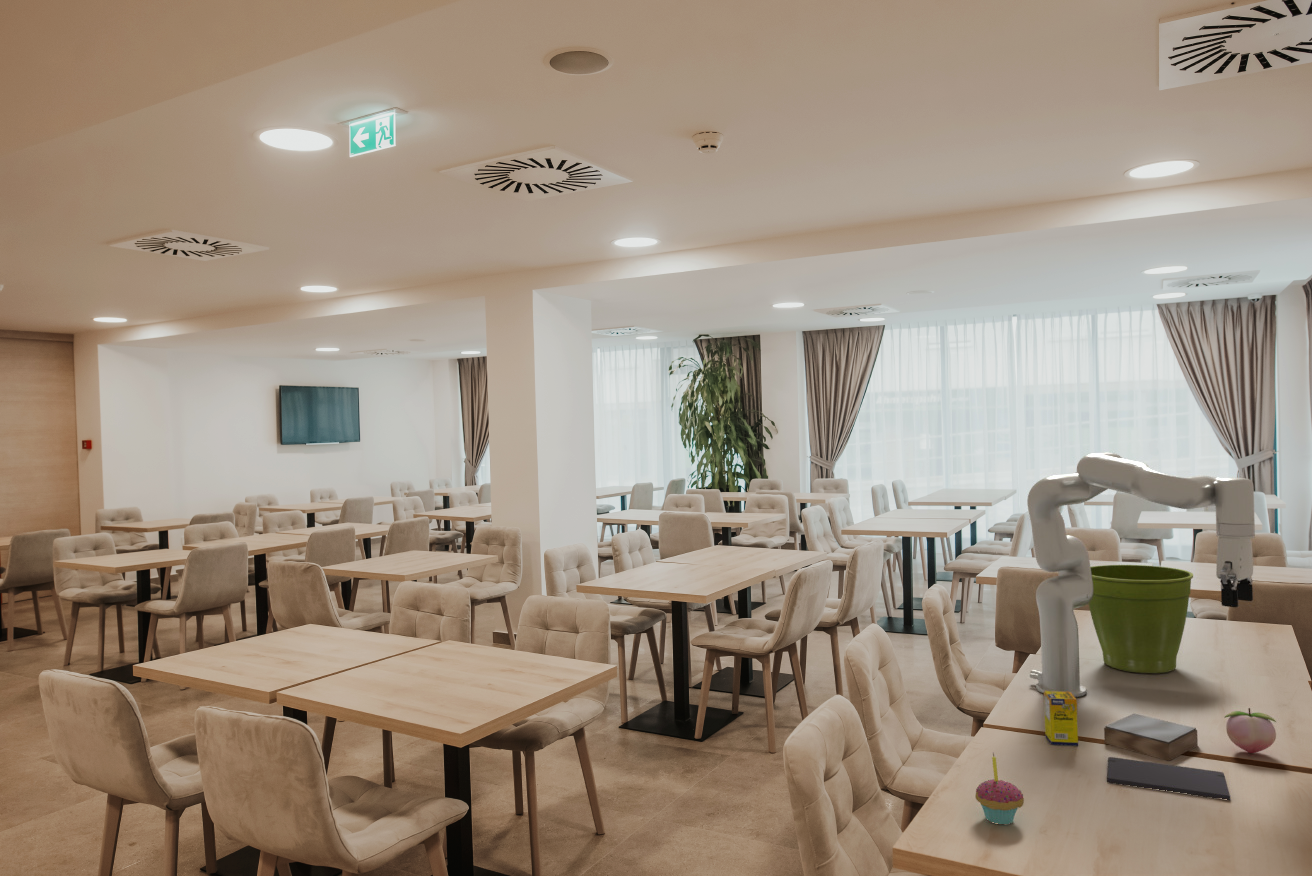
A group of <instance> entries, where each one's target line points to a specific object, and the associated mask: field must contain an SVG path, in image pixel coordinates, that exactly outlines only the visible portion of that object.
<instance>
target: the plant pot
mask: <svg viewBox="0 0 1312 876" xmlns="http://www.w3.org/2000/svg"><path fill="white" fill-rule="evenodd" d="M1090 567H1091V574H1092V580H1093V589H1094V591H1093V597H1092V599H1091V601H1090V602H1089V603H1088V604H1087V605H1088V606H1089V608H1088V609H1089V611H1090V612H1089V613H1090V615H1091V620H1092V622H1093V623H1092V624H1093V626H1094V631H1095V633H1096V636H1097V640H1098V642H1099V645H1100V648H1101V651H1102V659H1103V662H1104V664H1106V665H1107V666H1109V667H1110V668H1113V669H1116V670H1118V671H1124V672H1130V673H1138V674H1139V673H1140V674H1162V673H1168V672H1169V673H1170V672H1172V671H1174V670H1175V669H1176V668H1177V658H1178V654H1179V650H1180V646H1181V642H1182V638H1183V635H1184V631H1185V625H1186V622H1187V621H1186V619H1187V616H1188V607H1189V602H1190V600H1189V599H1190V595H1191V587H1192V586H1191V584H1192V579H1193V578H1194V573H1192V572H1190V571H1188V570H1184V569H1179V568H1176V567H1167V566H1157V565H1156V566H1155V565H1145V564H1144V565H1142V564H1105V565H1094V566H1090Z"/></svg>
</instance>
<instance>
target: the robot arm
mask: <svg viewBox="0 0 1312 876" xmlns="http://www.w3.org/2000/svg"><path fill="white" fill-rule="evenodd" d="M1108 489H1109V490H1112V491H1117V492H1122V493H1125V494H1129V495H1133V496H1136V497H1138V498H1140V499H1143V500H1145V501H1148V502H1152V503H1155V504H1159V505H1163V506H1169V507H1171V508H1177V509H1180V510H1181V509H1183V510H1195V509H1199V508H1201V509H1202V508H1205V507H1206V508H1208V507H1215V530H1216V531H1215V535H1216V537H1218V539H1217V545H1216V546H1217V548H1216V570H1215V571H1216V575H1215V576H1216V578H1217V579H1219V582H1220V593H1221V595H1220V597H1221V602H1220V603H1221V606H1222V607H1227V608H1228V607H1229V608H1238V607H1239V601H1245V602H1253V601H1254V598H1253V597H1254V594H1253V593H1254V591H1253V590H1254V588H1253V581H1254V580H1253V577H1252V576H1253V574H1254V553H1253V544H1252V539H1255V538H1256V532H1255V531H1256V527H1255V521H1256V520H1255V494H1254V493H1255V492H1254V491H1255V490H1254V489H1255V488H1254V483H1253V481H1252V480H1251V479H1250V478H1244V477H1223V478H1222V477H1217V476H1216V477H1215V476H1207V475H1198V476H1188V477H1182V476H1177V475H1171V474H1166V473H1162V472H1158V471H1155V470H1153V469H1151V468H1149V465H1148V464H1147V463H1145V462H1141V461H1136V460H1133V459H1125V458H1123V457H1122V456H1121V455H1119V454H1117V453H1115V452H1097V453H1096V452H1095V453H1089V454H1087V455H1084V456H1083V457H1082V458H1080V460H1079V461H1078V463H1077V464H1076V472H1074V473H1068V474H1056V475H1051V476H1047V477H1044V478H1042V479H1039V481H1037V482H1036V483H1035V484H1034V485H1032V487H1031V488H1030V490H1029V492H1028V494H1027V504H1026V505H1027V510H1028V516H1029V518H1030V519H1029V520H1030V525H1031V533H1032V540H1033V546H1034V547H1033V548H1034V553H1035V554H1034V555H1035V560H1036V563H1037V565H1038V567H1039V568H1040V569H1041V570H1042V571H1044V572H1047V573H1055V572H1056V573H1057V576H1053V577H1050V578H1046V579H1044V580H1043V581H1041V582H1040V584H1038V586H1037V587H1036V592H1035V600H1036V604H1037V605H1036V606H1037V608H1038V609H1037V610H1038V614H1039V627H1040V652H1041V657H1040V658H1041V671H1039V670H1037V669H1031V670H1030V672H1029V678H1030V679H1034V680H1037V681H1038V682H1037V683H1036V687H1035V688H1036V690H1037V691H1038V692H1039V693H1041V694H1044V691H1058V692H1071V694H1072V695H1073V696H1074V697H1075V698H1081V697H1083V696H1085V695H1086V694H1087V688H1086V687H1085V686H1083V684H1081V679H1080V678H1081V677H1080V676H1081V675H1080V673H1081V672H1080V671H1081V670H1080V645H1079V644H1080V642H1079V639H1080V638H1079V627H1078V626H1079V625H1078V622H1077V619H1076V615H1075V613H1074V610H1075V609H1078V608H1082V607H1085V606H1086V605H1089V604H1088V603H1089V602H1090V601H1091V599H1092V597H1093V591H1094V589H1093V580H1092V574H1091V567H1092V566H1091V562H1090V556H1089V552H1088V548H1087V546H1086V545H1085V543H1084V542H1083V541H1082V540H1081V539H1079V538H1078V537H1076V536H1073V535H1067V532H1066V526H1065V524H1066V523H1065V520H1064V517H1063V515H1062V514H1061V513H1062V512H1060V510H1059V508H1060V507H1062V506H1070V505H1079V504H1082V503H1086V502H1088V501H1090V500H1091V499H1093V498H1095V497H1096V496H1098V495H1100V494H1101V493H1103V492H1105V491H1107V490H1108Z"/></svg>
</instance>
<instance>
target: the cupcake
mask: <svg viewBox="0 0 1312 876" xmlns="http://www.w3.org/2000/svg"><path fill="white" fill-rule="evenodd" d="M991 759H992V769H993V771H992V772H993V779H988V780H984V782H980V784H978V786H977V787H976V789H975V799H976V801H977V802H978V803H979V804H980V806H981V809H982V811H983V813H984V817H985V819H986V820H987V819H988V820H989V821H991V822H994V823H998V824H1009V823H1011V824H1012V823H1013V822H1014V819H1015V815H1016V813H1017V810H1018V809H1019V808H1021V807H1023V806H1024V802H1025V798H1024V794H1023V793H1022V790H1020V789H1019V788H1018V787H1017V786H1016V785H1014V784H1013V783H1011V782H1008V781H1005V780H1002V779H1000V780H999V775H998V766H997V765H998V764H997V758H996V756H995V753H994V752H992V757H991ZM988 820H987V821H988ZM989 821H988V822H989ZM991 822H990V823H991ZM1009 825H1010V824H1009Z"/></svg>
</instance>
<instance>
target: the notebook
mask: <svg viewBox="0 0 1312 876" xmlns="http://www.w3.org/2000/svg"><path fill="white" fill-rule="evenodd" d="M1106 766H1107V768H1106V769H1107V770H1106V771H1107V772H1106V783H1107V782H1109V783H1108V784H1113V783H1116V784H1115V785H1119V784H1122V785H1121V786H1126V785H1130V786H1129V787H1133V786H1137V787H1136V788H1139V787H1144V788H1143V789H1146V788H1152V789H1151V790H1153V789H1159V790H1158V791H1160V790H1165V791H1164V792H1166V790H1167V791H1173V792H1180V793H1187V794H1191V795H1190V796H1193V795H1198V796H1197V797H1200V796H1203V797H1202V798H1207V797H1212V798H1211V799H1214V798H1222V799H1227V800H1230V801H1231V794H1230V791H1229V788H1228V784H1227V779H1226V776H1225V773H1224V772H1221V771H1217V770H1208V769H1202V768H1194V767H1187V766H1180V765H1174V764H1166V763H1157V762H1150V761H1144V760H1138V759H1137V760H1136V759H1128V758H1121V757H1113V756H1108V757H1107V765H1106ZM1173 792H1172V793H1173ZM1180 793H1179V794H1180ZM1187 794H1186V795H1187ZM1227 800H1226V801H1227Z"/></svg>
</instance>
